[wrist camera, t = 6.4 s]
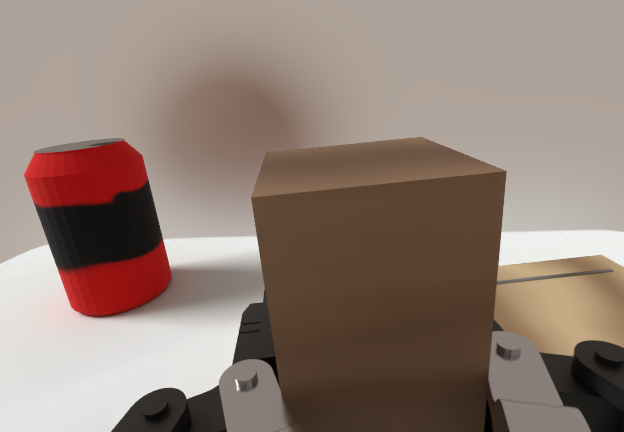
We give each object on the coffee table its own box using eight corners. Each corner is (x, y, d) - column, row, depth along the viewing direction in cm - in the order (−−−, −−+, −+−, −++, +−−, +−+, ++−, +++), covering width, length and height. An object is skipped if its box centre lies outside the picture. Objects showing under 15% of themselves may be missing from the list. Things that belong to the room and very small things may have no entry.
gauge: (468, 610, 11) (506, 170, 6) (317, 630, 11) (251, 197, 6) (365, 309, 25) (355, 110, 21) (301, 316, 25) (277, 118, 21)
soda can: (135, 321, 26) (85, 152, 22) (48, 316, 28) (-14, 158, 24) (189, 269, 33) (158, 133, 29) (116, 268, 35) (78, 139, 31)
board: (293, 453, 16) (289, 426, 15) (291, 307, 26) (289, 288, 26) (792, 393, 16) (804, 365, 16) (597, 273, 27) (601, 254, 26)
